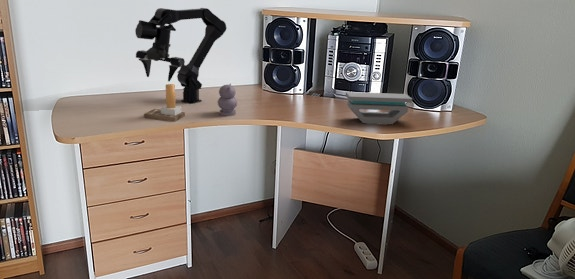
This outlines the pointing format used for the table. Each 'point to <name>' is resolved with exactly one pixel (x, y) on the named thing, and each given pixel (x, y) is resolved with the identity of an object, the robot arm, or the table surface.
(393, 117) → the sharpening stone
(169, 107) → the rubber stamp
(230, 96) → the grey stacked rounded piece
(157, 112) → the walnut board
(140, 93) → the table surface
